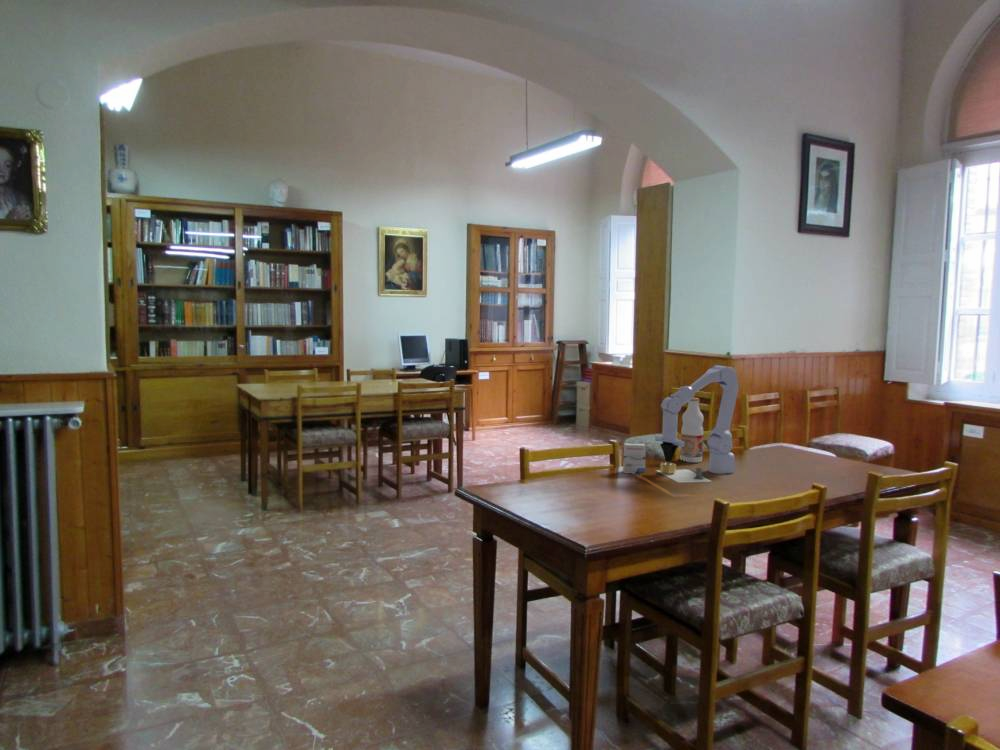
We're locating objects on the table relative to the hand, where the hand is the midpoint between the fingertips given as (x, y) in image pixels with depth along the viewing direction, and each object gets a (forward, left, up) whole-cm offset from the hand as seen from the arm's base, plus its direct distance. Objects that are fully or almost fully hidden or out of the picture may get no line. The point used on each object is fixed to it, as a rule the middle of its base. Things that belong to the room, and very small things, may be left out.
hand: (668, 461), depth 266 cm
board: (-4, +5, -6) cm, 9 cm away
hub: (0, 0, -6) cm, 6 cm away
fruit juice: (-23, -25, -6) cm, 35 cm away
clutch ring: (0, 0, -4) cm, 4 cm away
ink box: (+12, -6, -6) cm, 15 cm away
